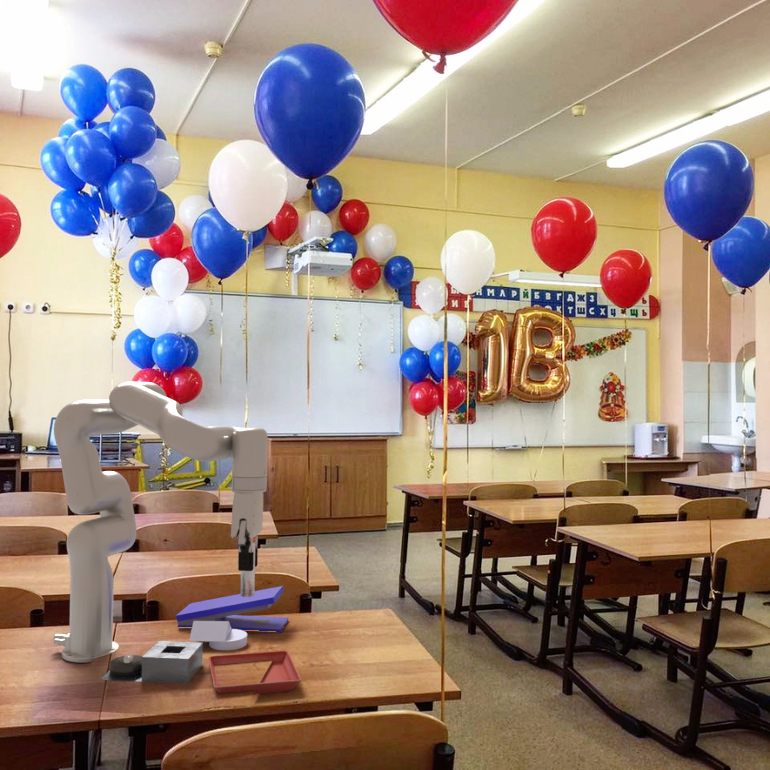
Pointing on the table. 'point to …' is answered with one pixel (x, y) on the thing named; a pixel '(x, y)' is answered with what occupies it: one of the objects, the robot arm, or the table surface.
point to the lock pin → (248, 577)
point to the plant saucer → (275, 679)
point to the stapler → (236, 611)
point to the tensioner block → (159, 664)
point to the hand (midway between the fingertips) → (247, 567)
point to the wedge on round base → (218, 635)
